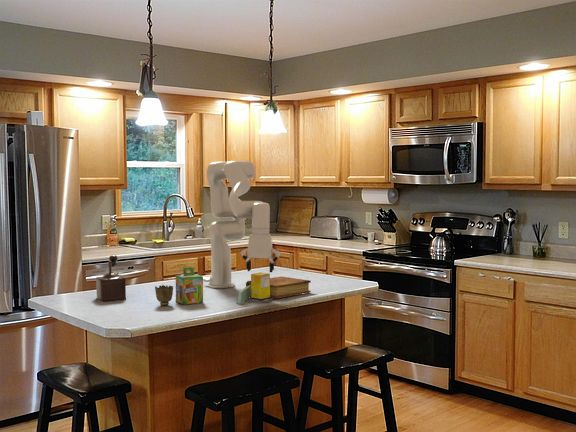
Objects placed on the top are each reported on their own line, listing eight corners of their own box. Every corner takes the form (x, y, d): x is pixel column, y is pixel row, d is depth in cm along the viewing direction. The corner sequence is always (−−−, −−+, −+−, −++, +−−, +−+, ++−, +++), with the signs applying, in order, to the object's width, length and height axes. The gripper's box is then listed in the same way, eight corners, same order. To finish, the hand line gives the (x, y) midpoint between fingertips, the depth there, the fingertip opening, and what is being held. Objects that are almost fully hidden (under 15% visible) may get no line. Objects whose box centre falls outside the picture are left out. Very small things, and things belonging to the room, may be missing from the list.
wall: (236, 304, 267) (236, 292, 267) (246, 296, 284) (246, 285, 283) (243, 304, 266) (243, 292, 266) (253, 296, 283) (253, 285, 283)
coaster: (248, 302, 271) (248, 300, 270) (253, 298, 279) (253, 296, 279) (269, 302, 269) (269, 301, 269) (273, 298, 278) (273, 297, 278)
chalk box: (183, 305, 264) (183, 270, 263) (174, 301, 272) (174, 267, 271) (204, 303, 269) (203, 268, 268) (194, 299, 277) (194, 265, 276)
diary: (280, 288, 305) (280, 276, 305) (310, 293, 292) (310, 280, 292) (245, 293, 288) (245, 280, 287) (276, 298, 275) (276, 285, 275)
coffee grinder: (128, 299, 278) (127, 258, 277) (102, 302, 272) (101, 259, 271) (117, 293, 291) (116, 254, 290) (92, 296, 286) (92, 256, 284)
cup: (165, 302, 270) (165, 284, 269) (177, 305, 265) (177, 286, 264) (151, 305, 264) (151, 286, 263) (163, 308, 259) (162, 288, 259)
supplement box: (260, 297, 278) (260, 272, 278) (270, 298, 274) (270, 273, 274) (250, 299, 274) (250, 273, 273) (260, 300, 270) (260, 275, 269)
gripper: (238, 231, 270) (238, 271, 272) (278, 233, 267) (278, 273, 269) (243, 229, 278) (242, 268, 279) (282, 231, 274) (281, 270, 276)
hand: (260, 271), depth 274 cm, fingers open, 9 cm apart
